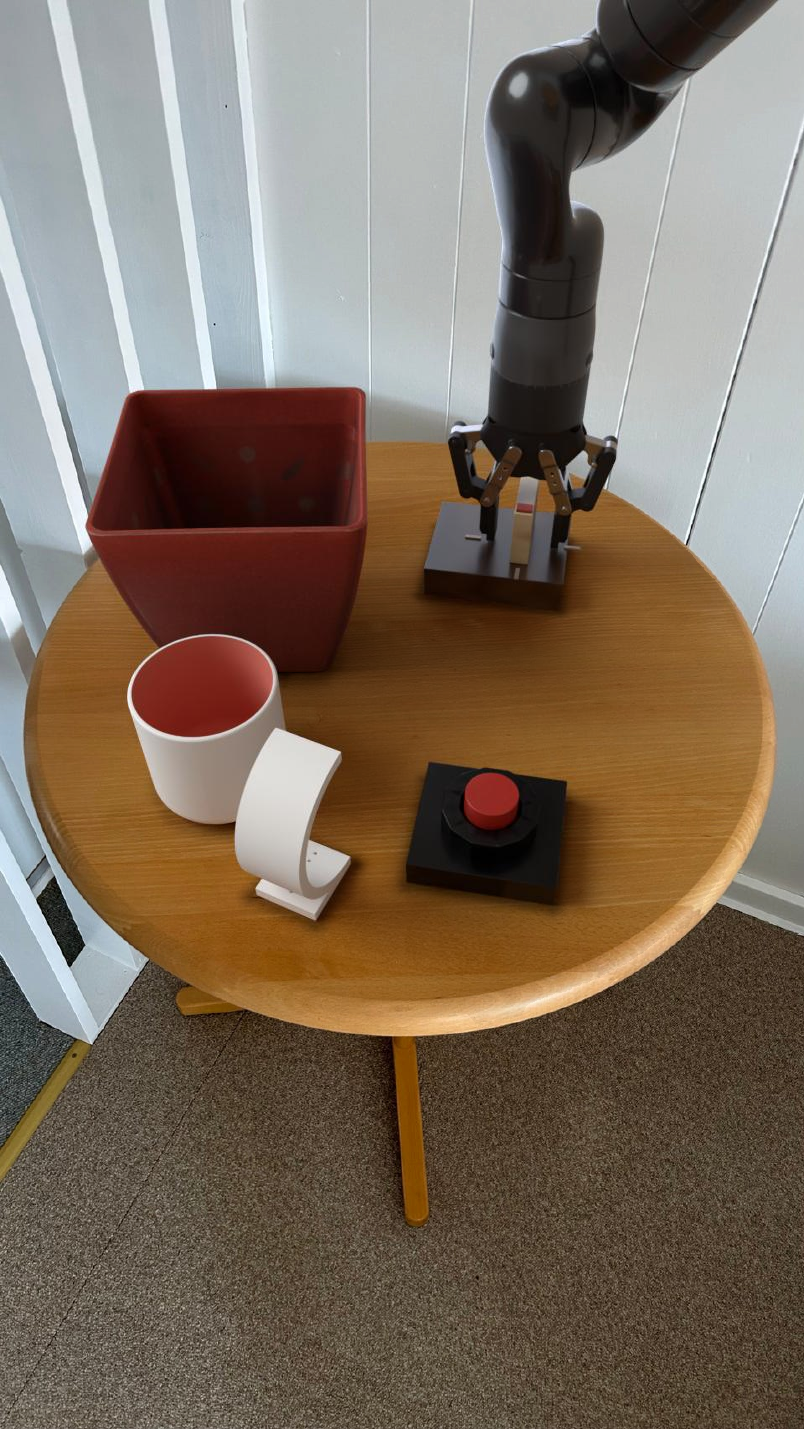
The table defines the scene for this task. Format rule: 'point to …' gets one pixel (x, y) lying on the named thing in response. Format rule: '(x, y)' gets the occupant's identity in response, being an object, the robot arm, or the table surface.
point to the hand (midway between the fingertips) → (522, 538)
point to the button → (491, 801)
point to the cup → (204, 721)
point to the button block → (488, 838)
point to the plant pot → (238, 516)
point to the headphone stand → (288, 824)
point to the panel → (493, 560)
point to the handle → (524, 520)
